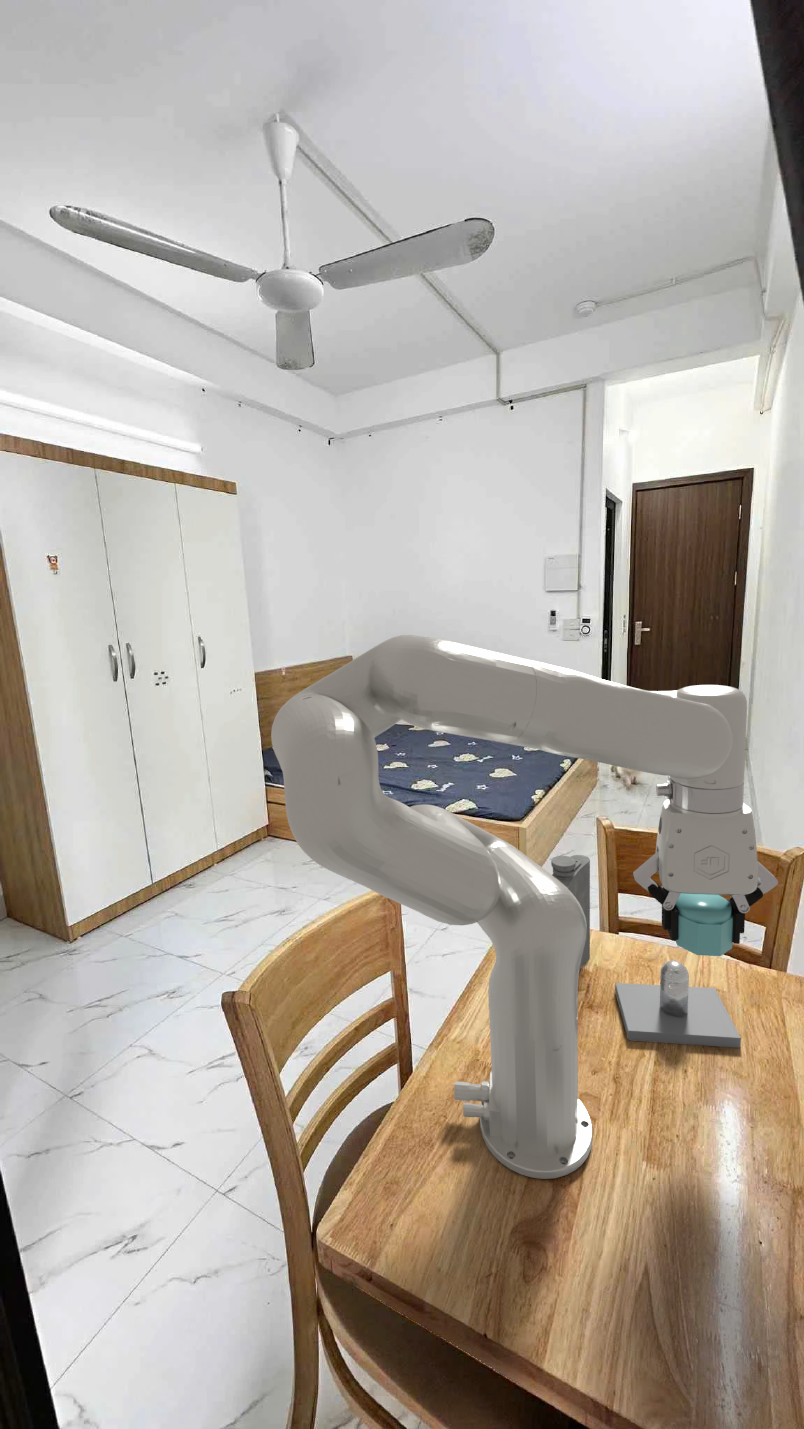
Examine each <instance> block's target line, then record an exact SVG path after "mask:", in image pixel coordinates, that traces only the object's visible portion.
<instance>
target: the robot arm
mask: <svg viewBox="0 0 804 1429" xmlns="http://www.w3.org/2000/svg"><path fill="white" fill-rule="evenodd" d="M747 701H748V699H747V697H746V694H744V692H743V691H741V690H740V689H739V688H736V687H734V686H728V685H721V684H720V685H719V684H699V685H698V684H697V685H695V684H694V685H689V686H684V687H682V688H678V689H677V690H658V691H657V690H646V689H641V688H636V687H632V686H629V685H626V684H625V685H624V684H621V683H618V682H614V681H610V680H606V679H602V678H599V677H596V676H593V675H589V674H587V673H584V672H580V671H577V670H575V669H571V668H567V667H564V666H563V667H562V666H560V665H559V666H558V665H554V664H550V663H547V662H542V661H538V660H534V659H528V658H524V657H519V656H515V655H511V654H507V653H503V652H498V651H495V650H489V649H485V648H482V647H477V646H472V645H468V644H466V643H465V644H464V643H461V642H460V643H459V642H455V641H451V640H448V639H447V640H446V639H442V638H436V637H428V636H421V635H413V634H402V635H396V636H393V637H391V638H389V639H386V640H384V641H382V642H381V643H379V644H377V645H375V646H373V647H372V648H370V649H368V650H367V651H365V652H363V653H362V654H361V655H359V656H357V657H355V658H353V659H352V660H351V661H349V662H348V663H346V664H344V665H342V666H341V667H339V668H338V669H336V670H334V671H332V672H331V673H329V674H328V675H326V676H324V677H322V678H320V679H319V680H318V681H315V682H314V683H312V684H311V685H309V686H307V687H306V688H304V689H303V690H301V691H299V692H298V693H296V694H295V695H294V696H292V697H291V698H290V699H288V700H287V701H286V702H285V703H284V704H283V705H282V706H281V707H280V709H279V710H278V711H277V713H276V715H275V717H274V720H273V722H272V725H271V732H270V735H271V737H270V738H271V745H272V749H273V751H274V755H275V757H276V759H277V762H278V763H279V767H280V770H281V771H282V776H283V788H284V789H283V790H284V800H285V801H284V803H285V812H286V813H285V814H286V817H287V818H286V819H287V822H288V826H289V829H290V831H291V833H292V835H293V837H294V839H295V841H296V843H297V844H298V846H299V848H300V849H301V850H302V851H303V852H304V854H306V856H308V857H309V858H310V859H311V860H312V861H314V862H315V863H316V864H317V865H319V866H321V867H322V868H324V869H326V870H328V871H329V872H332V873H334V874H337V875H339V876H341V877H343V878H345V879H348V880H350V881H352V882H355V884H359V885H361V886H363V887H365V888H367V889H369V890H371V891H373V892H375V894H376V893H377V895H380V896H383V897H385V898H387V899H389V900H391V901H394V902H396V903H398V904H400V905H403V906H404V907H407V908H409V909H411V910H414V911H415V912H418V913H420V914H421V915H423V916H425V917H428V918H430V919H432V920H433V921H436V922H438V923H442V924H447V925H449V926H467V925H468V926H469V925H473V924H476V923H477V924H478V926H479V927H480V928H481V929H482V931H483V932H484V934H485V935H486V936H487V937H488V938H489V939H490V942H491V943H492V945H493V947H494V951H495V952H494V953H495V962H494V964H493V967H492V970H491V971H490V976H489V979H488V990H487V991H488V995H487V996H488V1010H489V1012H488V1013H489V1035H490V1036H489V1038H490V1041H489V1042H490V1066H491V1071H490V1072H489V1080H481V1084H480V1083H470V1082H469V1081H468V1082H467V1081H459V1080H458V1081H457V1080H455V1081H454V1089H453V1090H454V1095H453V1096H454V1101H460V1102H461V1101H463V1105H462V1106H463V1107H462V1117H466V1118H479V1125H480V1132H481V1136H482V1139H483V1141H484V1143H485V1146H486V1147H487V1148H488V1151H490V1153H491V1154H492V1156H494V1158H495V1159H497V1161H499V1162H500V1164H502V1165H504V1167H506V1168H508V1170H511V1171H513V1172H515V1173H517V1174H519V1175H522V1176H526V1177H528V1178H529V1177H530V1178H534V1179H543V1180H545V1179H546V1180H547V1179H557V1178H560V1177H563V1176H567V1175H569V1174H571V1173H573V1172H576V1170H578V1169H579V1167H581V1166H582V1165H583V1163H584V1162H585V1161H586V1160H587V1159H588V1157H589V1155H590V1152H591V1150H592V1147H593V1140H594V1138H593V1123H592V1120H591V1117H590V1114H589V1112H588V1110H587V1108H586V1106H585V1105H584V1103H583V1102H582V1101H581V1100H580V1099H579V1094H578V1092H579V1086H578V1084H579V1074H578V1071H579V1070H578V1069H579V1068H578V1067H579V1064H578V1063H579V1062H578V1060H579V1055H578V1052H579V1051H578V1044H579V1042H578V1038H579V1037H578V1036H579V1034H578V1030H579V1028H578V995H579V993H578V992H579V987H578V986H579V976H580V970H579V968H580V963H581V958H582V954H583V950H584V946H585V941H586V934H587V923H586V918H585V915H584V912H583V910H582V907H581V905H580V904H579V902H578V900H577V899H576V898H575V896H574V895H573V894H572V893H571V892H570V891H569V889H568V888H567V887H566V886H565V885H563V884H562V883H561V882H560V881H559V880H558V879H556V878H555V877H554V876H552V874H551V873H550V872H549V871H548V870H546V869H545V868H544V867H542V866H541V865H539V864H537V862H535V861H534V860H532V859H531V858H530V857H528V856H527V855H526V854H524V853H523V852H522V851H521V850H519V849H518V848H517V847H515V846H514V845H512V844H511V843H510V842H507V841H506V840H503V839H502V838H500V837H498V836H496V835H494V834H492V833H490V832H488V831H487V830H485V829H483V828H481V827H479V826H477V825H476V824H474V823H472V822H470V821H468V820H466V819H464V818H462V817H460V816H459V815H457V814H455V813H453V812H451V811H449V810H447V809H445V808H443V807H440V806H438V805H437V806H436V805H433V804H424V803H423V804H414V805H412V806H408V805H406V804H405V803H403V802H401V801H399V800H397V799H394V798H392V797H389V796H387V795H386V793H385V792H383V790H382V787H381V784H380V779H379V778H380V776H379V753H378V746H377V742H376V739H375V738H376V737H378V736H379V735H381V734H382V733H384V732H386V731H387V730H389V729H390V728H392V727H393V726H394V725H396V724H398V722H400V721H401V720H402V721H404V722H406V723H408V724H410V725H412V726H415V727H418V728H421V729H425V730H429V731H433V732H438V733H445V734H450V735H456V736H463V737H468V738H475V739H479V740H480V739H482V740H486V741H491V742H497V743H501V744H507V745H513V746H519V747H525V748H527V749H528V748H529V749H533V750H539V751H543V752H547V753H550V754H554V755H559V756H562V757H570V758H575V759H581V760H582V759H583V760H586V761H593V762H596V763H600V764H601V763H602V764H606V765H611V766H615V767H620V768H624V769H628V770H633V771H638V772H643V773H647V774H653V775H658V776H665V777H667V780H666V782H665V783H662V784H656V786H655V793H656V796H657V797H664V798H667V799H665V800H664V802H663V803H662V804H663V805H662V808H661V811H660V817H659V822H658V827H657V828H658V829H657V837H656V844H655V853H654V854H653V855H651V856H650V857H649V858H648V859H647V860H645V862H644V863H642V864H641V865H640V866H639V867H637V868H636V869H635V870H634V871H633V873H632V876H633V877H634V878H633V879H634V881H635V882H636V883H637V884H638V885H639V886H641V887H642V888H643V890H646V891H647V892H648V893H649V895H650V896H651V897H652V898H654V899H655V900H656V902H658V903H659V904H660V905H661V926H662V930H664V931H667V932H668V936H669V938H670V940H671V942H672V941H674V942H676V940H678V918H679V913H678V910H677V908H676V902H677V900H678V898H679V896H680V894H681V893H683V894H709V895H719V896H730V898H729V899H726V900H727V901H728V902H729V903H730V904H731V907H732V908H731V915H732V916H733V935H732V942H733V943H732V944H734V945H735V944H736V945H739V944H740V942H741V934H744V933H745V927H746V926H745V921H746V914H748V912H750V911H751V907H752V906H753V905H754V904H756V903H757V902H759V901H760V899H763V897H764V894H767V893H768V892H770V891H771V890H772V889H774V888H775V887H776V886H777V885H778V884H779V880H778V879H777V878H776V877H775V875H774V874H773V873H772V872H770V871H769V869H767V868H766V867H765V866H764V865H763V864H762V863H761V862H760V861H758V849H757V848H758V846H757V836H756V828H755V821H754V816H753V811H752V809H751V808H750V806H749V805H747V804H746V803H744V791H745V789H744V788H745V769H746V768H745V764H746V745H747V744H746V742H747V740H746V738H747V717H748V715H747V714H748V713H747V712H748V702H747ZM655 873H658V874H659V881H660V884H661V885H660V884H659V883H658V882H657V881H656V880H653V879H652V878H651V877H652V876H654V875H655ZM470 1101H472V1102H473V1101H474V1102H481V1103H480V1104H478V1103H477V1104H475V1103H472V1102H470Z"/></svg>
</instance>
